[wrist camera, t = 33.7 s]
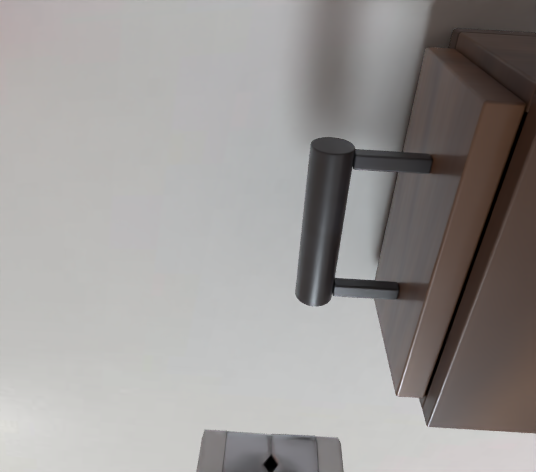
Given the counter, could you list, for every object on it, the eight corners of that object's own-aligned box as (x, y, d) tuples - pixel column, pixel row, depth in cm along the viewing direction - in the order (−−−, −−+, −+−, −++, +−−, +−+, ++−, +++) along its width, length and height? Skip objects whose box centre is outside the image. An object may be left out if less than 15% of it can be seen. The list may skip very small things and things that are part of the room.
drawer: (290, 286, 26) (290, 390, 20) (313, 39, 19) (324, 91, 13) (642, 308, 26) (744, 418, 20) (795, 68, 19) (1017, 132, 13)
